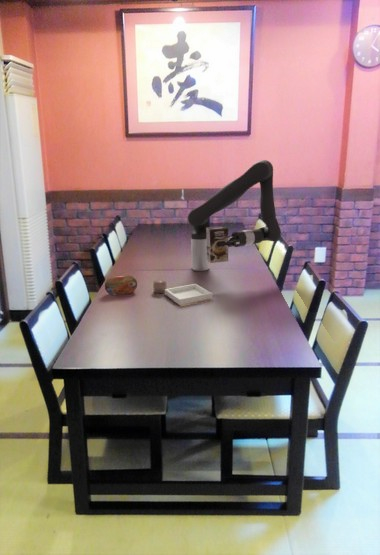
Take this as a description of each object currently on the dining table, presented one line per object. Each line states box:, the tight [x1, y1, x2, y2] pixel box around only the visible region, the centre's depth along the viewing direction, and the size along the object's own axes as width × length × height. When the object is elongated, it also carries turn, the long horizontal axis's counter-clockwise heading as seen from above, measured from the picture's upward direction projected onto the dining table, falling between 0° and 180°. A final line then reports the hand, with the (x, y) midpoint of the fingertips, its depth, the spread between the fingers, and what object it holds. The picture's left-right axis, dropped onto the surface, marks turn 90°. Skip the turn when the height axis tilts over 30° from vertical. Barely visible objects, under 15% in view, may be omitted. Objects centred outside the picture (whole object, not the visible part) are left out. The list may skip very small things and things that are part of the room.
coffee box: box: [206, 225, 229, 264], centre depth 222 cm, size 9×6×16 cm
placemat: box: [179, 298, 213, 307], centre depth 214 cm, size 18×15×1 cm
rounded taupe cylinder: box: [153, 279, 167, 294], centre depth 222 cm, size 6×6×5 cm
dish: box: [164, 283, 213, 306], centre depth 213 cm, size 16×16×3 cm
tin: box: [104, 274, 138, 296], centre depth 221 cm, size 15×3×8 cm, turn 105°
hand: (213, 242), depth 221 cm, fingers closed on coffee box, 7 cm apart
